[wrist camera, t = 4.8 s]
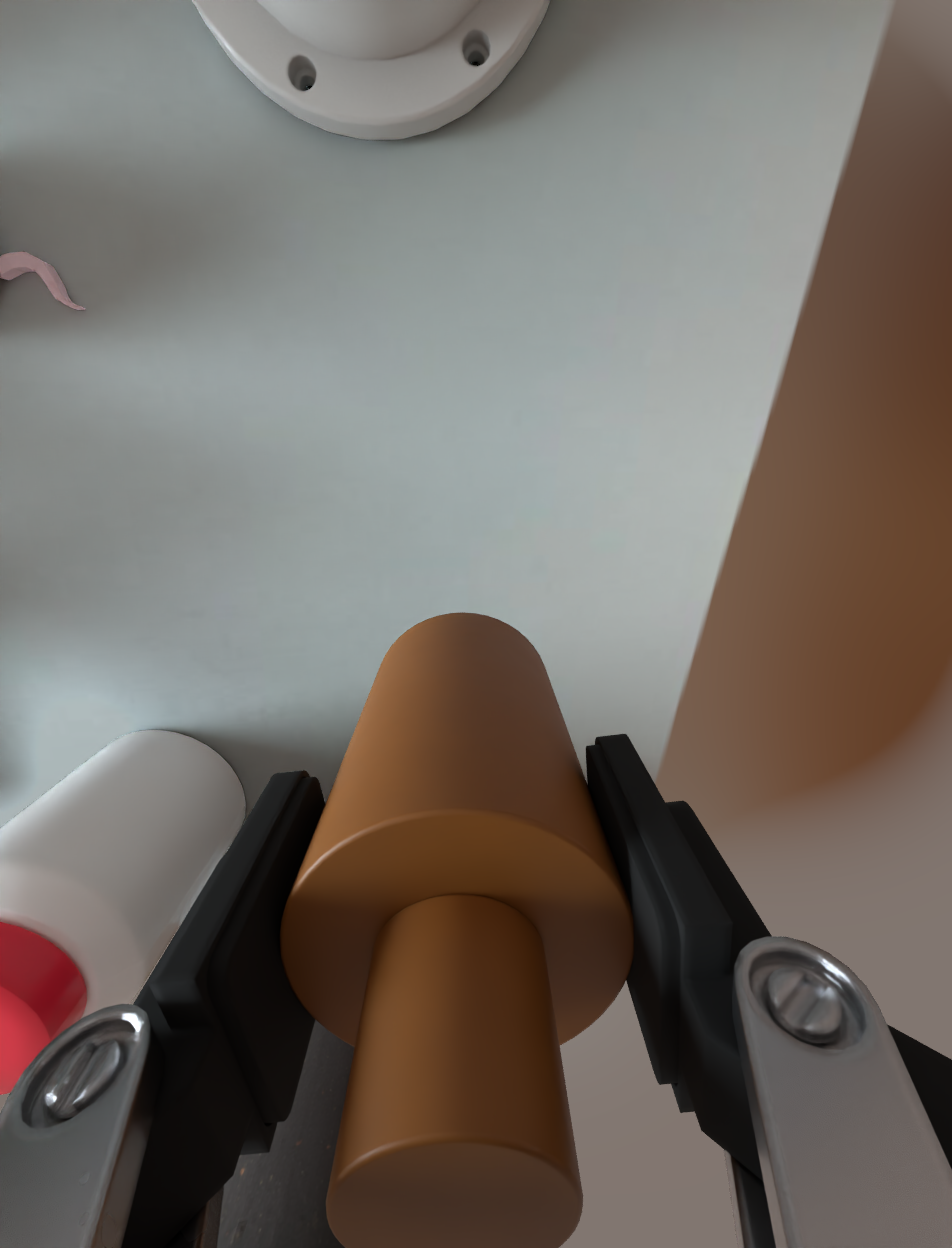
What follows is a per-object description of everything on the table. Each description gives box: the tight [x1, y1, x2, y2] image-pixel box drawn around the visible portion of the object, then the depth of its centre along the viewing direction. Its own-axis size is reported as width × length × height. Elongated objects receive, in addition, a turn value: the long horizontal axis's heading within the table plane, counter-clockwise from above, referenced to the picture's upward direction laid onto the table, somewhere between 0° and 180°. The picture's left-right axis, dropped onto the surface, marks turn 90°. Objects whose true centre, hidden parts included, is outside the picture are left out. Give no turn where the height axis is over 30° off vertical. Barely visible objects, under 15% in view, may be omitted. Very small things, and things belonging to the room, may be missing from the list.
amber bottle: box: [279, 613, 634, 1248], centre depth 10 cm, size 5×5×10 cm
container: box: [217, 1020, 355, 1248], centre depth 16 cm, size 9×9×20 cm
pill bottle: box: [0, 730, 246, 1095], centre depth 20 cm, size 8×8×11 cm
